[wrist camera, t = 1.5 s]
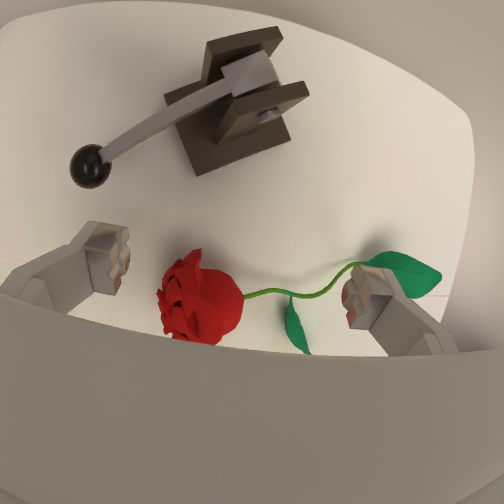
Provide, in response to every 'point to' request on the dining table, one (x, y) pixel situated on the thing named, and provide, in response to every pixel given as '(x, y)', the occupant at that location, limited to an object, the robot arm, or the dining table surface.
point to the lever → (175, 116)
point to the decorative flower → (231, 298)
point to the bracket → (235, 107)
